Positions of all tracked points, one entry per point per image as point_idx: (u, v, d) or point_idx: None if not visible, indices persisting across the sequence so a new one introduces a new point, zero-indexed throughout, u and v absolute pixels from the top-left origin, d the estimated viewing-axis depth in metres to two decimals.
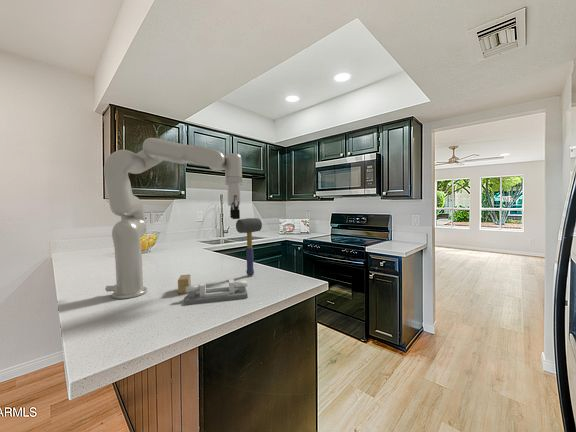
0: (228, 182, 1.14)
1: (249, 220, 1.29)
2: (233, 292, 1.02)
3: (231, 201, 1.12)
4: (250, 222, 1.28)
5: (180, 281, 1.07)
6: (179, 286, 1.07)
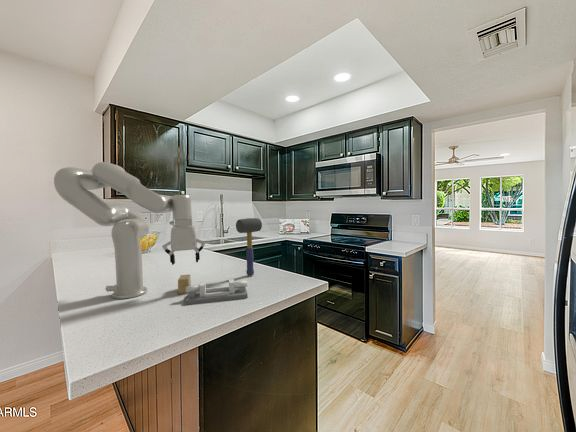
0: (188, 225, 1.08)
1: (249, 220, 1.29)
2: (233, 292, 1.02)
3: (196, 244, 1.10)
4: (250, 222, 1.28)
5: (180, 281, 1.07)
6: (179, 286, 1.07)
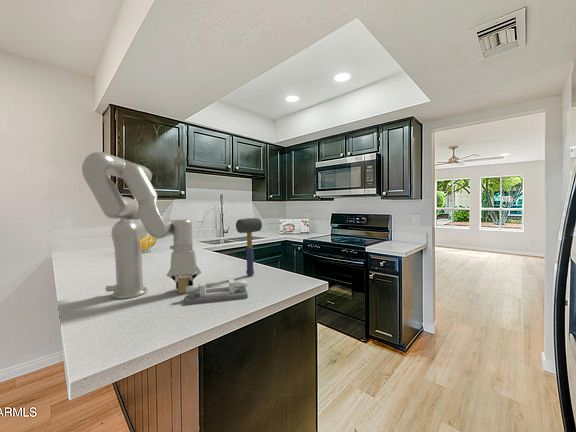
0: (189, 250, 1.08)
1: (249, 220, 1.29)
2: (233, 292, 1.02)
3: (195, 269, 1.10)
4: (250, 222, 1.28)
5: (180, 281, 1.07)
6: (179, 286, 1.07)
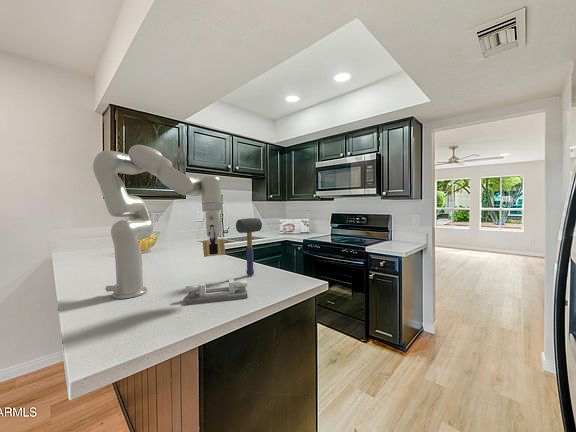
0: None
1: (249, 220, 1.29)
2: (233, 292, 1.02)
3: None
4: (250, 222, 1.28)
5: (223, 240, 1.03)
6: (224, 246, 1.02)
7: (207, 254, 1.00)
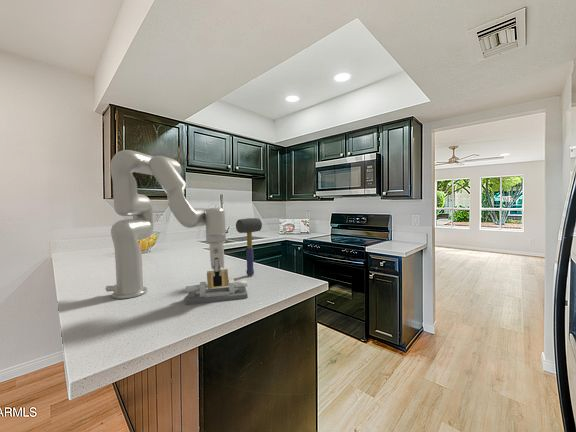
0: None
1: (249, 220, 1.29)
2: (233, 292, 1.02)
3: None
4: (250, 222, 1.28)
5: (227, 272, 1.03)
6: None
7: (211, 286, 1.00)
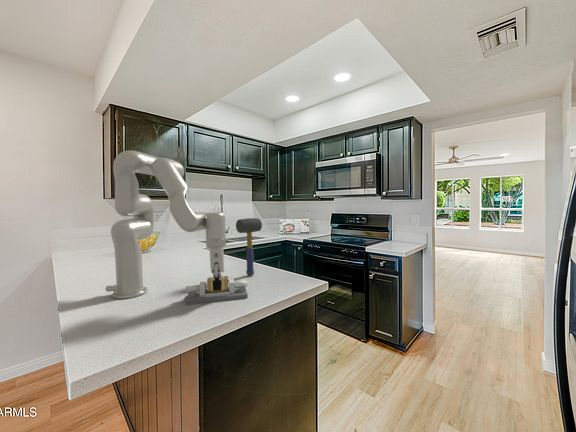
0: None
1: (249, 220, 1.29)
2: (233, 292, 1.02)
3: None
4: (250, 222, 1.28)
5: None
6: None
7: None
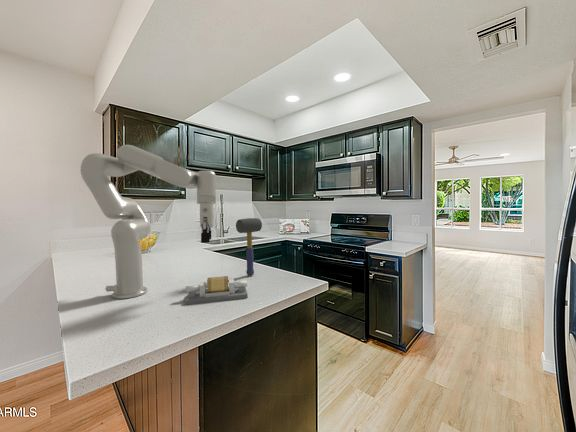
0: None
1: (249, 220, 1.29)
2: (233, 292, 1.02)
3: None
4: (250, 222, 1.28)
5: None
6: None
7: None
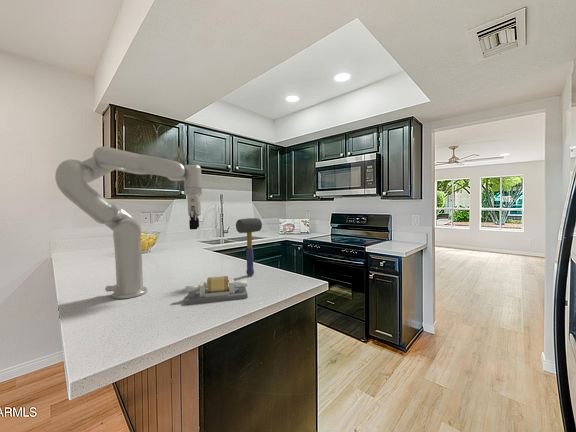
0: None
1: (249, 220, 1.29)
2: (233, 292, 1.02)
3: None
4: (250, 222, 1.28)
5: None
6: None
7: None
